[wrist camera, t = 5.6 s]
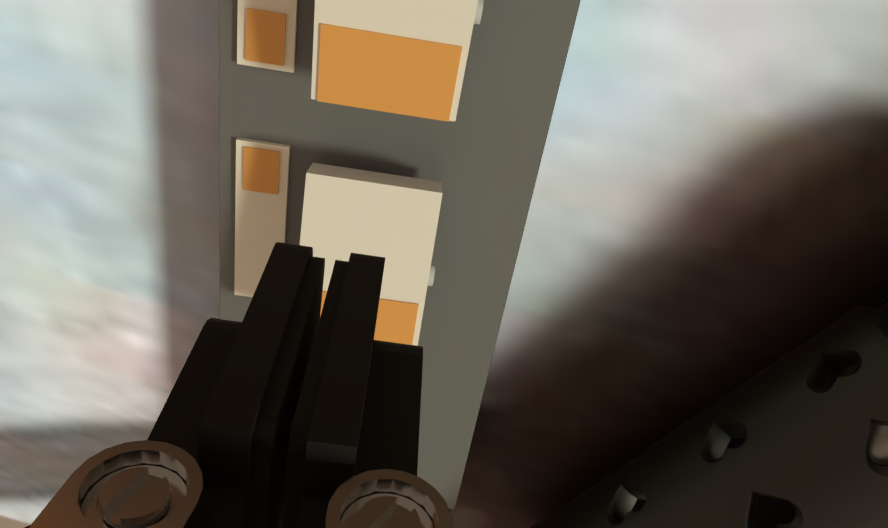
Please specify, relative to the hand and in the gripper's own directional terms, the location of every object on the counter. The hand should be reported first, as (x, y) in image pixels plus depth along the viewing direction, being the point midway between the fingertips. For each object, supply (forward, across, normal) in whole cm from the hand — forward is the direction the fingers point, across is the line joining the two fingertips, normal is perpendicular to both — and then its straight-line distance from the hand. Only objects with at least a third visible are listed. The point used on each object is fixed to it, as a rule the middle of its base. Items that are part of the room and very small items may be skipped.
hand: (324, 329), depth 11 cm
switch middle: (+12, 0, +6) cm, 14 cm away
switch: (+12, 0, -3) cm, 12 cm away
